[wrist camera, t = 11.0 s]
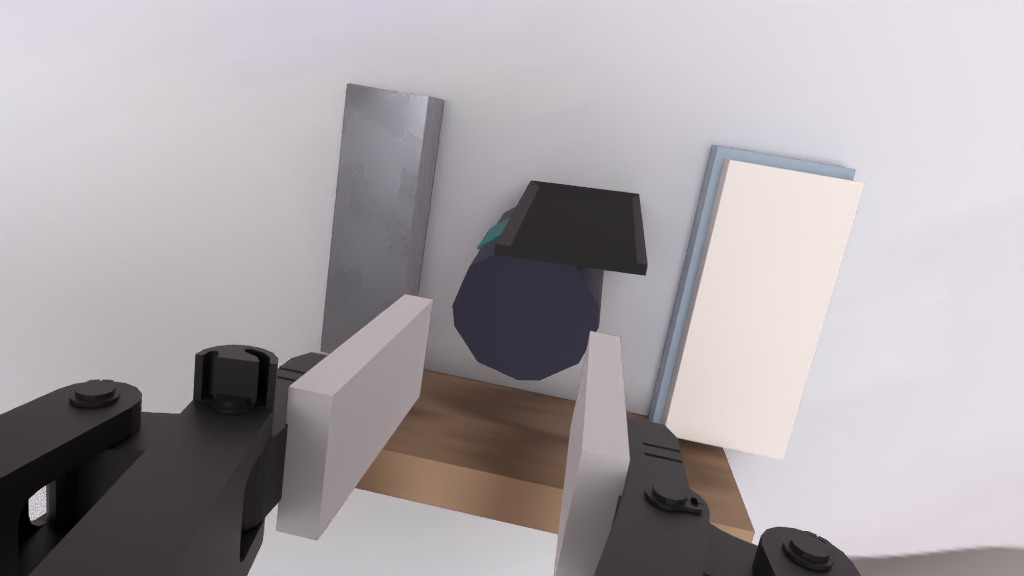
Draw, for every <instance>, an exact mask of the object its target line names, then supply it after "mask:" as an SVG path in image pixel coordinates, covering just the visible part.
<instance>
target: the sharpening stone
mask: <svg viewBox="0 0 1024 576" xmlns="http://www.w3.org/2000/svg"><path fill="white" fill-rule="evenodd" d="M855 171H856V169H851V168H845V167H839V166H833V165H827V164H821V163H815V162H809V161H803V160H798V159H792V158H786V157H780V156H774V155H768V154H762V153H756V152H750V151H744V150H739V149H733V148H727V147H721V146H712V149H711V153H710V158H709V162H708V166H707V170H706V175H705V179H704V183H703V187H702V192H701V196H700V200H699V204H698V209H697V213H696V217H695V221H694V226H693V230H692V234H691V238H690V243H689V247H688V251H687V255H686V260H685V264H684V268H683V272H682V277H681V281H680V285H679V289H678V294H677V298H676V302H675V306H674V311H673V315H672V319H671V323H670V328H669V332H668V336H667V340H666V345H665V349H664V353H663V357H662V362H661V366H660V370H659V374H658V379H657V383H656V387H655V391H654V396H653V400H652V404H651V408H650V413H649V422H654V423H659V424H664V425H665V426H666V427H667V428H668V429H669V430H670V431H671V432H672V433H673V434H674V435H675V436H676V437H677V438H681V439H685V440H690V441H695V442H700V443H704V444H709V445H714V446H718V447H723V448H728V449H733V450H737V451H742V452H747V453H752V454H756V455H761V456H766V457H770V458H775V459H780V460H783V459H784V456H785V452H786V449H787V446H788V442H789V439H790V435H791V432H792V429H793V425H794V422H795V418H796V415H797V412H798V408H799V405H800V402H801V398H802V395H803V391H804V388H805V385H806V381H807V378H808V374H809V371H810V368H811V364H812V361H813V357H814V354H815V351H816V347H817V344H818V340H819V337H820V334H821V330H822V327H823V324H824V320H825V317H826V313H827V310H828V307H829V303H830V300H831V296H832V293H833V290H834V286H835V283H836V279H837V276H838V273H839V269H840V266H841V263H842V259H843V256H844V252H845V249H846V246H847V242H848V239H849V235H850V232H851V229H852V225H853V222H854V218H855V215H856V212H857V208H858V205H859V202H860V198H861V195H862V191H863V188H864V185H865V183H862V182H857V181H853V178H854V175H855Z"/></svg>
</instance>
